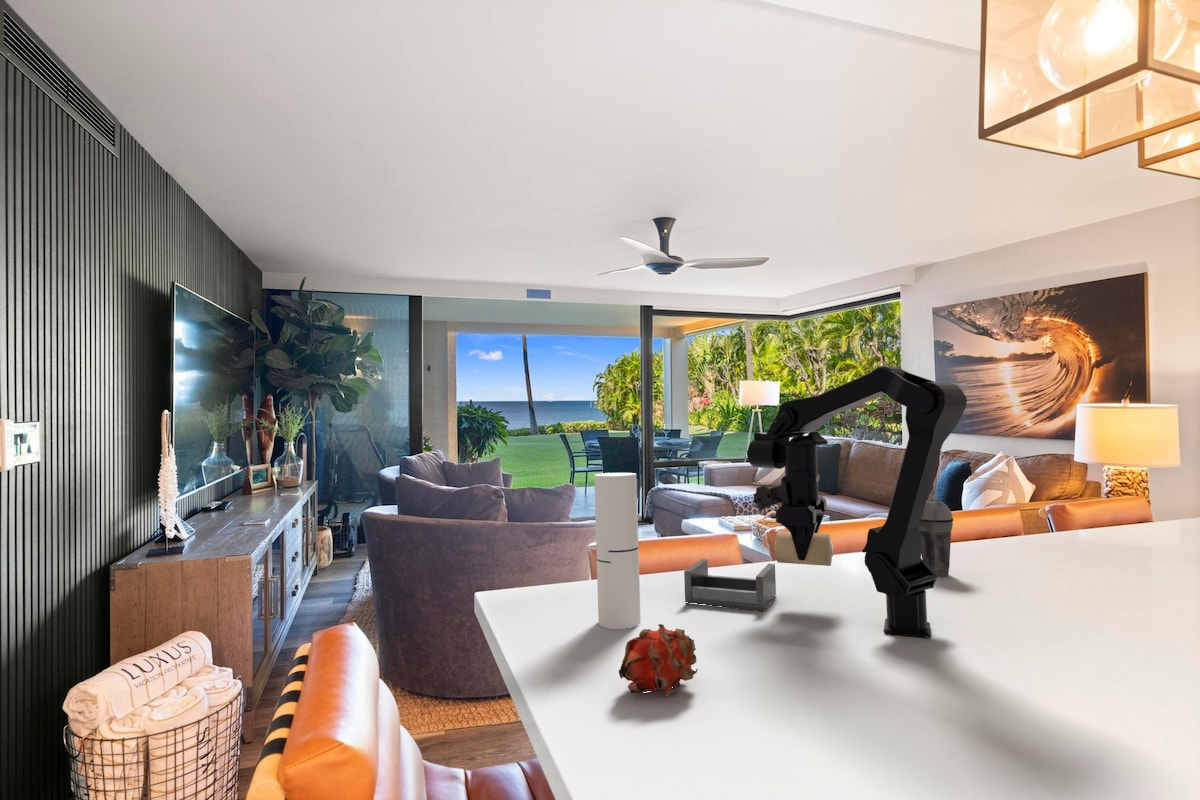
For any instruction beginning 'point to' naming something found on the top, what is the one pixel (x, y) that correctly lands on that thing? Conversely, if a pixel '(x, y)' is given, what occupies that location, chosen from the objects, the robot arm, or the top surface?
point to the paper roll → (817, 552)
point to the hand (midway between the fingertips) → (804, 556)
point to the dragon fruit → (658, 660)
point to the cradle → (729, 588)
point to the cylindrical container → (617, 550)
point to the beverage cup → (936, 535)
